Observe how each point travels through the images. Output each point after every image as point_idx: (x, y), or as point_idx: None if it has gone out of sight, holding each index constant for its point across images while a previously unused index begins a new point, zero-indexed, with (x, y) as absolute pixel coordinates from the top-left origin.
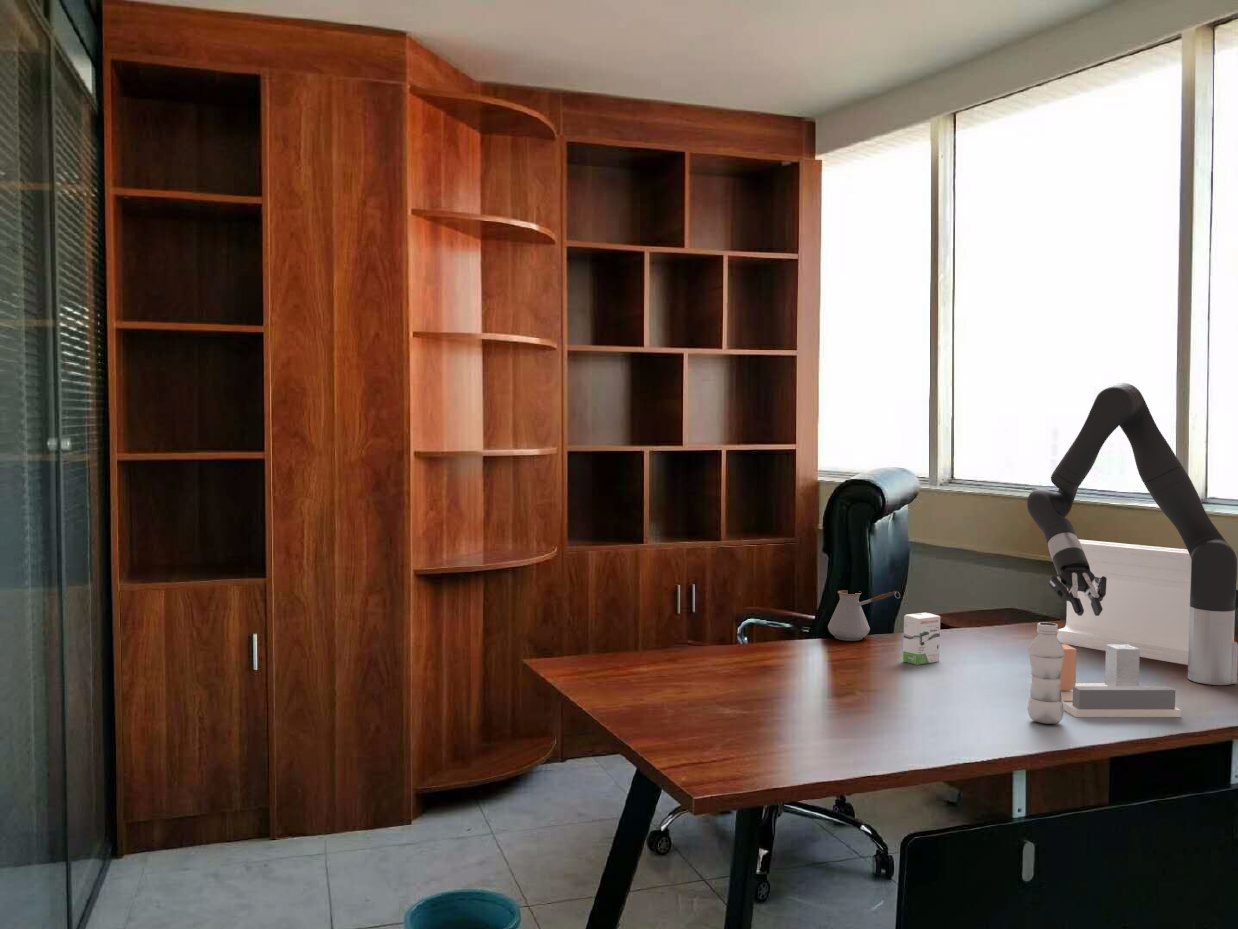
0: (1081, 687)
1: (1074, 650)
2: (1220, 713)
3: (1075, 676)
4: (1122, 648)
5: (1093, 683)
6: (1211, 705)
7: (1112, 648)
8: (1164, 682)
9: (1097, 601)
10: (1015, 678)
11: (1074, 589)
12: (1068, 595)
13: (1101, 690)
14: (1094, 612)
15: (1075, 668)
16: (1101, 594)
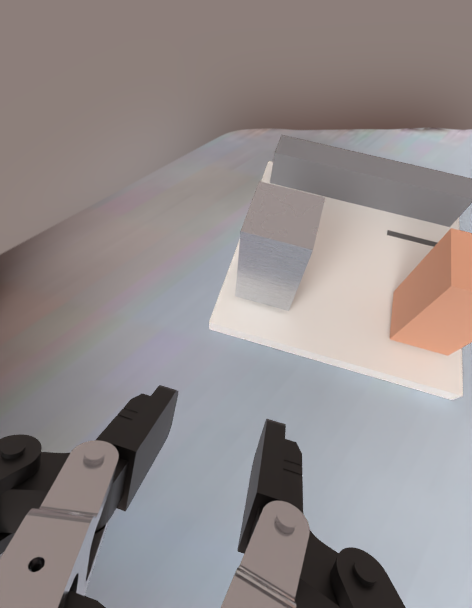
0: (460, 189)
1: (455, 231)
2: (180, 167)
3: (410, 274)
4: (302, 199)
5: (295, 344)
6: (145, 200)
7: (319, 220)
8: (45, 359)
9: (130, 426)
10: (439, 540)
11: (271, 588)
12: (350, 550)
13: (427, 169)
14: (160, 445)
15: (421, 262)
16: (40, 447)
